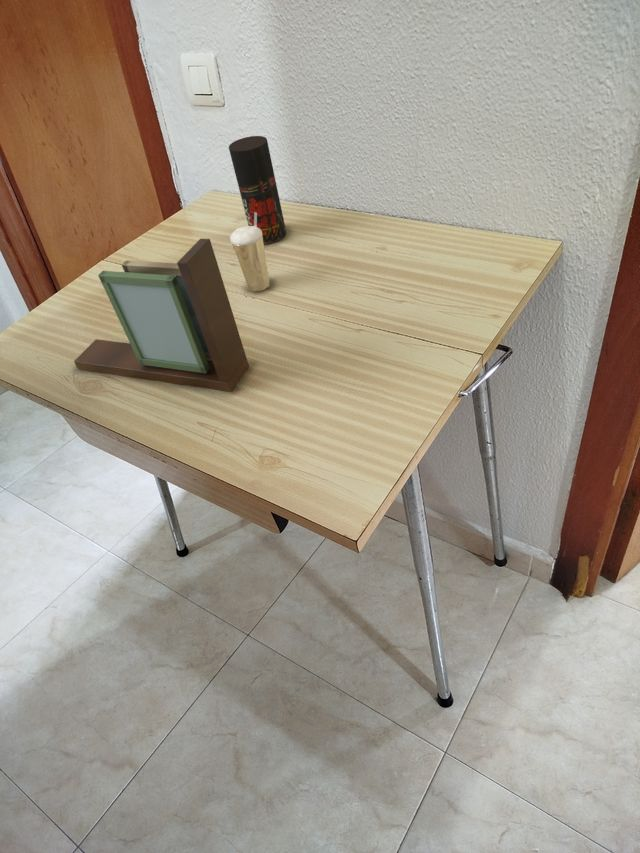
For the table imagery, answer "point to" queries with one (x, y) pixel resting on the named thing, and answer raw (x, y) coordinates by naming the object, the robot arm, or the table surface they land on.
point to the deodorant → (258, 186)
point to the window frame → (208, 318)
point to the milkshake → (251, 255)
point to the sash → (155, 320)
